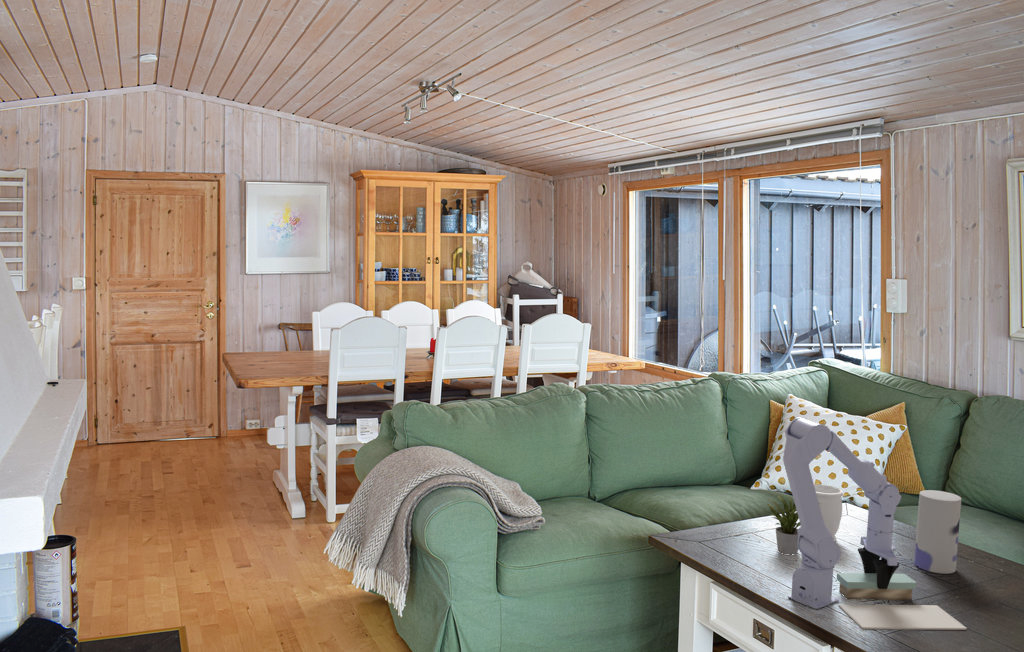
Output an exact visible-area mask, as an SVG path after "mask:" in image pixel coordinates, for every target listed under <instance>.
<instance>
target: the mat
mask: <svg viewBox="0 0 1024 652" xmlns="http://www.w3.org/2000/svg"><path fill="white" fill-rule="evenodd" d="M838 607H839V608H840V609H841V610H842V611H843V612H844V613H845V614H846V615H847V616H848V617H849V618H850V619H852V621H854V623H856V625H858V626H859V628H861V630H926V631H927V630H929V631H930V630H931V631H932V630H933V631H934V630H939V631H940V630H942V631H944V630H945V631H946V630H947V631H950V630H951V631H952V630H953V631H954V630H955V631H958V630H962V631H963V630H966V631H967V629H968V627H966V626H964V624H962V623H961V622H960V621H958V620H957V619H956V618H954V617H953V616H952V615H951V614H949V613H948V612H946V611H945V610H943V608H941V607H940V606H938V605H936V604H934V605H933V604H932V605H929V604H841V603H840V604H838Z"/></svg>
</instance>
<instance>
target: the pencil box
mask: <svg viewBox="0 0 1024 652" xmlns="http://www.w3.org/2000/svg"><path fill="white" fill-rule="evenodd" d="M839 593H840V594H841V595H842V594H843V595H844V596H843V595H842V596H843V597H844V598H847V599H846V600H850V599H856V600H857V599H858V601H859V600H860V601H861V599H866V600H867V601H871V600H870V599H874V601H875V600H877V601H881V600H882V601H885V600H886V601H887V600H888V601H912V597H913V589H848V588H846V587H845V586H844V585H842V584H841V583H840V582H839ZM866 600H865V601H866Z"/></svg>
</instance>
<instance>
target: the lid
mask: <svg viewBox="0 0 1024 652" xmlns="http://www.w3.org/2000/svg"><path fill="white" fill-rule="evenodd" d="M836 580H837V581H838V582H839V584H840V583H841V584H842V585H844V586H845V587H846V588H848V589H878V587H877V575H876V573H863V572H860V573H859V572H852V573H851V572H837V573H836ZM917 585H918V583H917V581H915V580H914V579H913V578H911V577H910V576H908V575H907V574H906V573H893V575H892V577H891V580H890V582H889V585H888V588H887V589H912V590H917Z"/></svg>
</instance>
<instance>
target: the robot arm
mask: <svg viewBox="0 0 1024 652" xmlns="http://www.w3.org/2000/svg"><path fill="white" fill-rule="evenodd" d="M784 434H785V439H786V440H785V446H784V450H783V451H784V452H783V456H782V457H783V458H782V462H783V465H784V469H785V473H786V475H787V480H788V484H789V487H790V491H791V495H792V498H793V503H794V502H795V506H796V510H797V511H796V510H795V511H796V512H797V513H798V517H799V519H798V520H799V521H798V522H800V524H801V526H799V527H798V528H797V529H798V530H797V532H798V541H797V546H798V552H800V553H801V558H800V559H801V563H800V565H799V566H798V568H796V569H795V570H794V571H793V573H792V581H791V583H792V584H791V594H789V595H788V596H787V597H788V599H790V598H791V599H790V600H792V599H793V600H792V601H795V602H798V603H800V604H802V605H804V606H807V607H809V608H812V609H814V610H819V609H821V608H824V607H826V606H828V605H832V604H833V603H836V602H839V601H840V598H839V597H836V596H834V595H832V594H833V582H834V581H833V580H834V569H835V568H836V567H835V566H836V565H837V564H839V562H840V559H841V557H842V552H841V549H840V547H839V545H838V544H836V541H835V542H834V540H833V536H832V535H831V533H830V532H829V530H828V529H827V528H826V526H825V524H824V520H823V517H822V513H821V509H820V505H819V502H818V498H817V494H816V491H815V487H814V485H815V483H814V479H813V476H812V473H811V469H810V464H811V462H812V461H814V460H815V459H817V457H818V456H820V455H821V454H822V453H823V452H824V451H827V452H829V453H830V454H831V455H832V456H833V457H835V459H837V460H838V461H839V462H840V463H841V464H843V465H844V466H845V467H846V468H847V469H848V470H847V476H848V477H849V478H850V479H851V480H852V481H853V482H854V483H855V484H856V485H857V486H858V487H859V488H860V489H861V490H862V491H863V493H864V496H865V498H867V499H869V500H868V510H867V511H868V512H867V513H868V514H867V526H866V536H860V540H859V541H860V545H861V546H863V547H859V548H857V552H858V553H859V556H860V559H861V562H862V567H863V572H864V573H876V575H877V587H878V589H887V588H888V585H889V582H890V580H891V577H892V575H893V574H895V572H896V570H897V569H899V567H900V563H899V562H898V561H899V558H898V557H897V556H896V554H895V552H896V551H897V548H896V547H895V546H894V545H892V544H893V533H894V519H895V513H896V512H897V506H898V505H899V504H900V502H901V500H902V495H900V491H899V488H898V487H897V486H896V485H895V484H894V483H890V482H889V481H888V477H887V476H886V475H885V474H882V473H880V472H879V470H878V469H876V468H875V466H876V464H875V463H874V462H873V461H871V460H867V459H863V458H862V459H860V458H858V456H856V455H855V454H854V452H852V450H851V449H850V448H849V447H848V446H847V445H846V444H845V442H843V441H842V439H841V438H840V437H839V436H838V435H837V433H835V431H833V430H831V429H830V428H829V427H828V426H827V425H825V424H822V423H818V422H816V421H813V420H810V419H808V418H807V417H803V416H798V417H795V418H793V420H791V421H790V423H789V425H787V427H786V429H785V430H784Z"/></svg>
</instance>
